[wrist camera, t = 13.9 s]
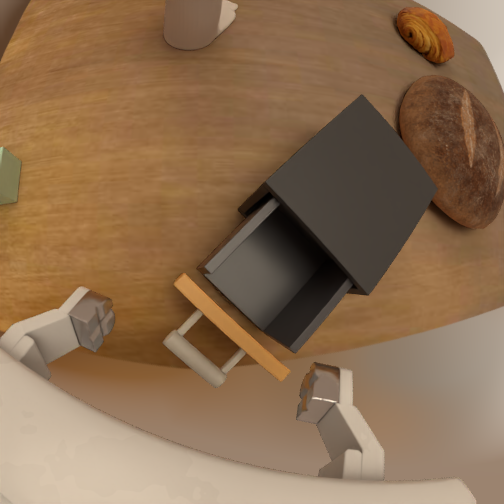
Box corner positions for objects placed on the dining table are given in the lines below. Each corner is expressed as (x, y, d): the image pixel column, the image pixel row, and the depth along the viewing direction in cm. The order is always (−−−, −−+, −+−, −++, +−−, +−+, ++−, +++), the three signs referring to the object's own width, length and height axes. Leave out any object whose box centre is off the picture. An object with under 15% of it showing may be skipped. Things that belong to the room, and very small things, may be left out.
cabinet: (315, 290, 34) (368, 295, 24) (237, 209, 33) (265, 181, 23) (381, 206, 38) (438, 188, 27) (317, 133, 36) (362, 93, 26)
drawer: (226, 383, 30) (244, 419, 22) (145, 311, 29) (133, 326, 20) (333, 264, 34) (380, 261, 26) (264, 190, 33) (294, 163, 24)
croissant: (377, 22, 45) (394, 0, 37) (416, 15, 46) (432, -3, 38) (422, 75, 45) (444, 57, 37) (455, 61, 47) (475, 46, 39)
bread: (484, 133, 47) (516, 120, 38) (483, 251, 43) (525, 246, 34) (398, 62, 42) (431, 34, 32) (385, 188, 38) (436, 168, 28)
